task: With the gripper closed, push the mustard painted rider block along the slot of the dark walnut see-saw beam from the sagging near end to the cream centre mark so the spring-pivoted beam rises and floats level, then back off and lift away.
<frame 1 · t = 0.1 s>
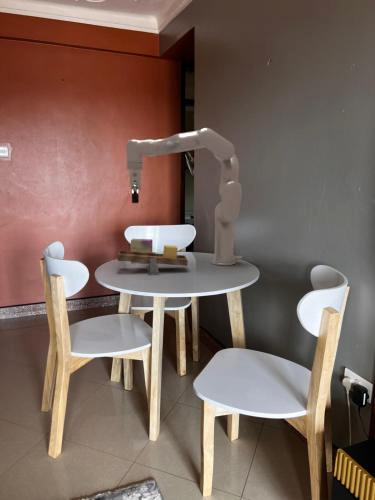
hand: (135, 202, 185), 31 cm above the table, fingers open, 9 cm apart
beam: (152, 257, 178), point 6 cm above the table, hinge at -5.3°, touching rider
box: (141, 262, 197), on the table
stand: (152, 270, 179), on the table
rider: (169, 258, 179), point 5 cm above the table, tilted 5°, touching beam
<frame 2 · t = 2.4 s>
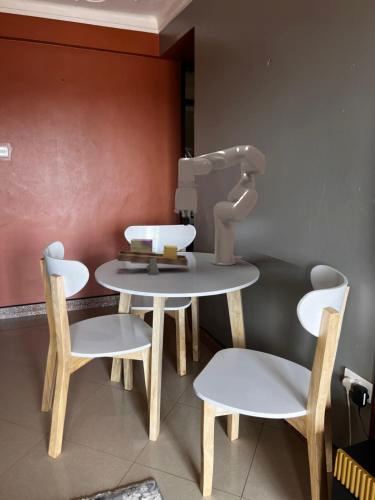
hand: (185, 225, 177), 21 cm above the table, fingers closed
nothing on the table moved.
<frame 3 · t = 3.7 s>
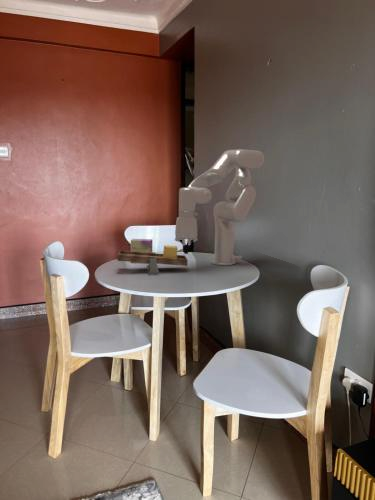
hand: (186, 253, 179), 8 cm above the table, fingers closed
nothing on the table moved.
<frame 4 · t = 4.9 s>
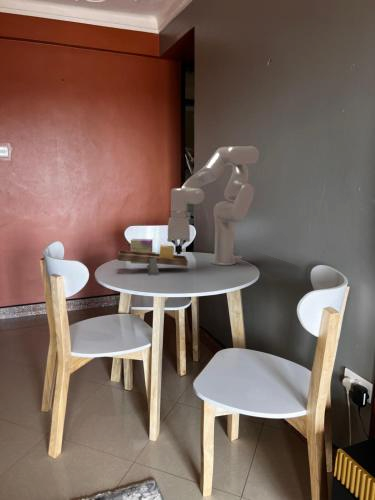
hand: (178, 253, 179), 8 cm above the table, fingers closed
beam: (152, 257, 178), point 6 cm above the table, hinge at -6.0°, touching rider
rider: (165, 258, 179), point 6 cm above the table, tilted 6°, touching beam, gripper
everything else where it was.
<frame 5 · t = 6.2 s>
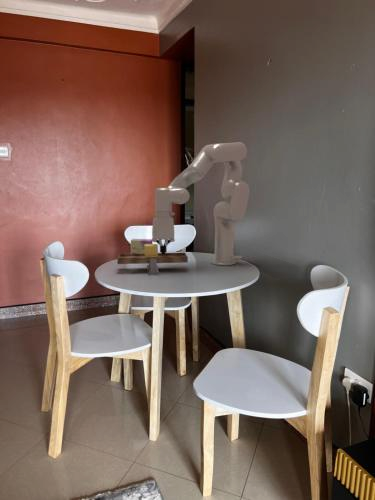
hand: (163, 253, 178), 8 cm above the table, fingers closed
beam: (152, 257, 178), point 6 cm above the table, hinge at 0.3°, touching rider
rider: (151, 257, 177), point 6 cm above the table, touching beam
everything else where it was.
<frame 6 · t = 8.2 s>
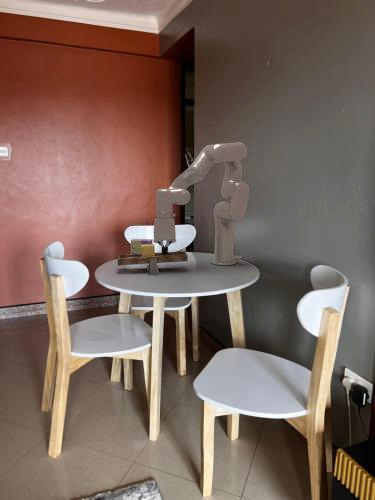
hand: (164, 254, 178), 7 cm above the table, fingers closed
beam: (152, 257, 178), point 6 cm above the table, hinge at 2.4°, touching rider
rider: (148, 257, 177), point 6 cm above the table, touching beam
everything else where it was.
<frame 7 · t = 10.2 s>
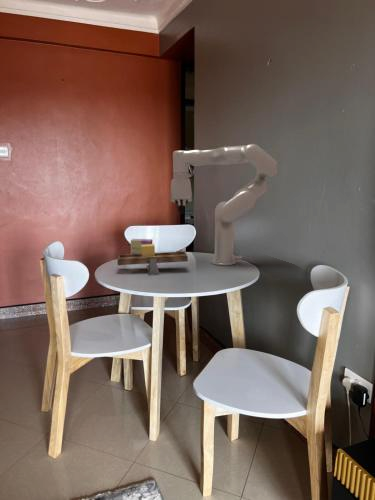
hand: (181, 213, 190), 26 cm above the table, fingers closed
nothing on the table moved.
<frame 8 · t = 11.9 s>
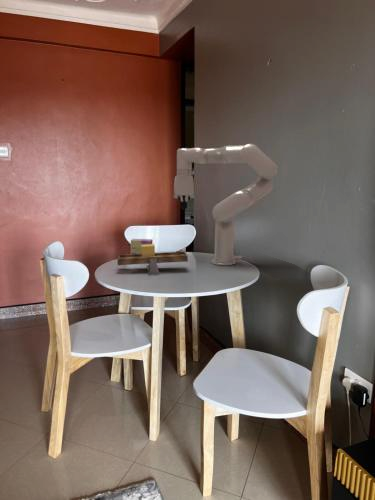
hand: (183, 209, 196), 27 cm above the table, fingers closed
nothing on the table moved.
at the end: rider 2.0 cm off-centre on the beam, point 0.0 cm above the beam's base; beam at +2° (first picture: -5°); the gripper is holding nothing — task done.
